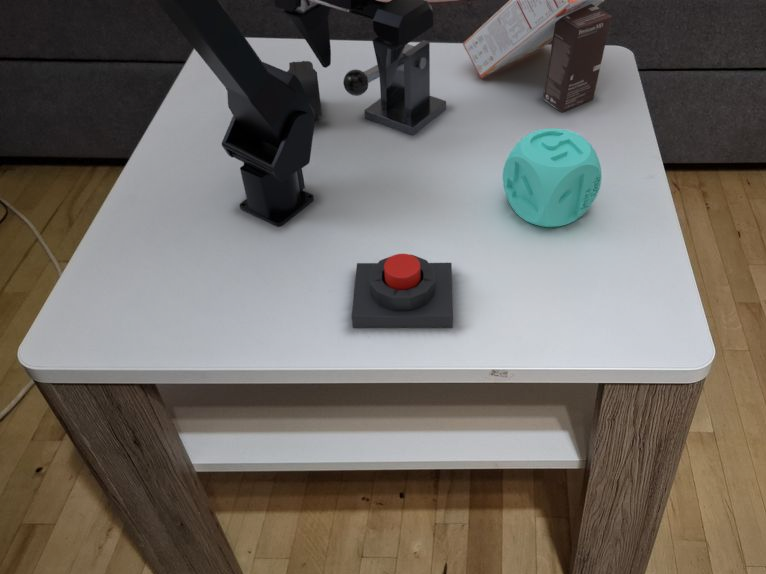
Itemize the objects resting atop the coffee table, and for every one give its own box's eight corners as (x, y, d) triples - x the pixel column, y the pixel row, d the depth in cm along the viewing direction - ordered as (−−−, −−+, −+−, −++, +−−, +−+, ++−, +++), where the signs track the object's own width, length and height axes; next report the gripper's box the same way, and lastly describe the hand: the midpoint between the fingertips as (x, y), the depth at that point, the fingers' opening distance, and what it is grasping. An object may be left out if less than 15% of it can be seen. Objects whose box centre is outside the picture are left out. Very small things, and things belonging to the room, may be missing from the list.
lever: (358, 102, 90) (358, 77, 88) (338, 95, 91) (337, 71, 89) (419, 68, 98) (420, 45, 96) (400, 62, 99) (401, 39, 97)
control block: (352, 328, 75) (349, 303, 73) (358, 274, 81) (355, 249, 78) (452, 328, 75) (453, 303, 72) (451, 274, 80) (451, 249, 78)
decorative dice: (542, 237, 84) (550, 177, 78) (499, 201, 89) (504, 141, 83) (596, 212, 87) (608, 152, 81) (552, 178, 92) (560, 120, 86)
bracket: (413, 135, 99) (411, 64, 91) (364, 118, 102) (359, 48, 95) (446, 109, 103) (447, 39, 96) (399, 92, 106) (396, 24, 99)
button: (384, 290, 74) (383, 277, 73) (385, 266, 77) (384, 253, 76) (420, 290, 74) (420, 277, 73) (420, 266, 77) (420, 253, 75)
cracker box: (525, 11, 113) (623, -71, 95) (543, 48, 114) (644, -26, 96) (459, 41, 107) (550, -41, 89) (479, 80, 108) (573, 7, 90)
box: (563, 114, 101) (577, 27, 92) (541, 99, 104) (553, 13, 95) (596, 101, 104) (613, 14, 95) (574, 86, 106) (589, 1, 97)
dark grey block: (248, 136, 100) (238, 89, 95) (248, 108, 104) (239, 62, 99) (323, 129, 100) (317, 82, 95) (320, 102, 105) (315, 55, 100)
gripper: (462, -72, 79) (458, 69, 91) (325, -102, 87) (338, 31, 98) (400, -36, 73) (405, 110, 85) (259, -73, 81) (281, 66, 92)
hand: (356, 76), depth 90 cm, fingers open, 9 cm apart
